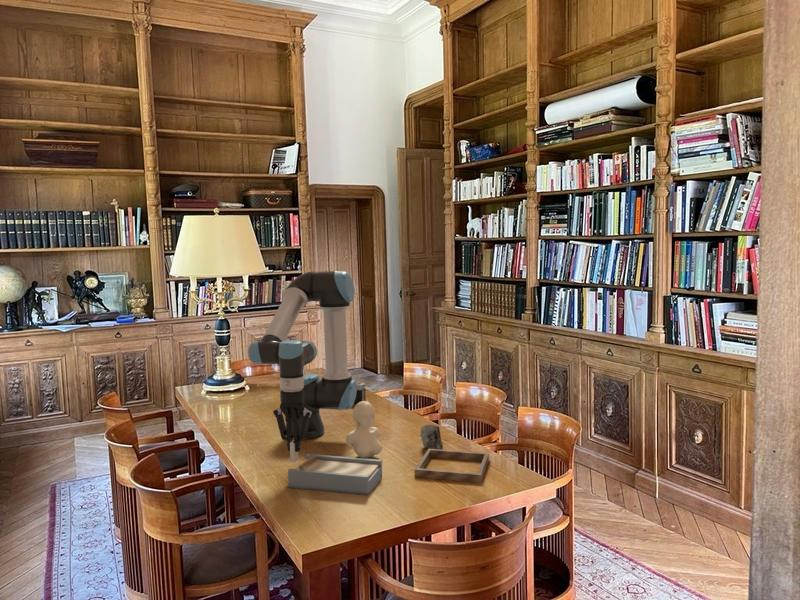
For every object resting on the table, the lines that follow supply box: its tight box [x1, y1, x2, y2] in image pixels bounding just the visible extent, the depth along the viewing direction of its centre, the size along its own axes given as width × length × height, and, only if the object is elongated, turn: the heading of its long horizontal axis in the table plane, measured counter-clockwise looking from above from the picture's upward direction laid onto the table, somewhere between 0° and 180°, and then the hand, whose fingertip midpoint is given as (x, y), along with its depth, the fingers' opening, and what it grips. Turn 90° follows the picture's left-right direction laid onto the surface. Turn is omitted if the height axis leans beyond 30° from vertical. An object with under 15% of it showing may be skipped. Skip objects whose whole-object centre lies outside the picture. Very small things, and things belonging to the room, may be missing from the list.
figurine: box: [345, 400, 383, 459], centre depth 218 cm, size 14×9×20 cm
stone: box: [419, 424, 444, 450], centre depth 227 cm, size 10×10×10 cm
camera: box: [353, 382, 366, 405], centre depth 294 cm, size 14×8×10 cm, turn 58°
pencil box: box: [287, 453, 383, 496], centre depth 196 cm, size 26×15×6 cm, turn 75°
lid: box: [295, 456, 378, 478], centre depth 196 cm, size 25×12×2 cm, turn 75°
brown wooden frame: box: [414, 448, 490, 484], centre depth 207 cm, size 21×20×2 cm
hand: (294, 460), depth 200 cm, fingers closed
